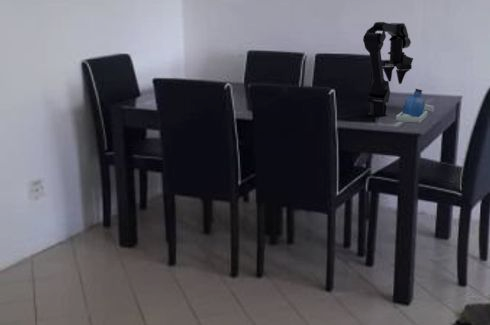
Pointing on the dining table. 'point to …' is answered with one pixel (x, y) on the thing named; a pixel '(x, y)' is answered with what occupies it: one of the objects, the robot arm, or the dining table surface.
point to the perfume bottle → (414, 104)
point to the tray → (411, 117)
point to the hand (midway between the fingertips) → (394, 82)
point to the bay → (428, 108)
